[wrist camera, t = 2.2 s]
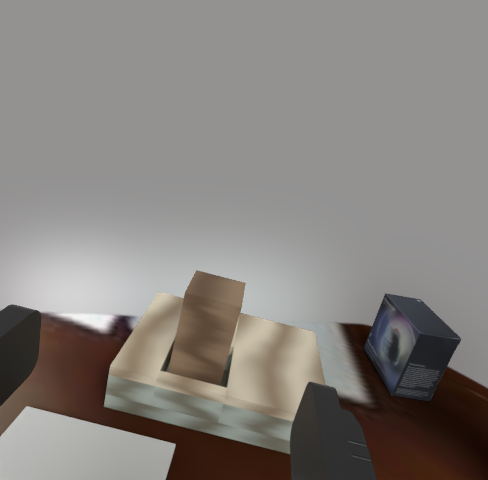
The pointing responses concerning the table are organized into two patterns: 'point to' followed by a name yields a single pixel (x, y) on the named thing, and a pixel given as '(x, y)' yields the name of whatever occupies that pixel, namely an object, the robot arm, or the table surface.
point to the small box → (410, 347)
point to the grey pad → (78, 450)
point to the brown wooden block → (206, 327)
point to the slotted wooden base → (232, 384)
